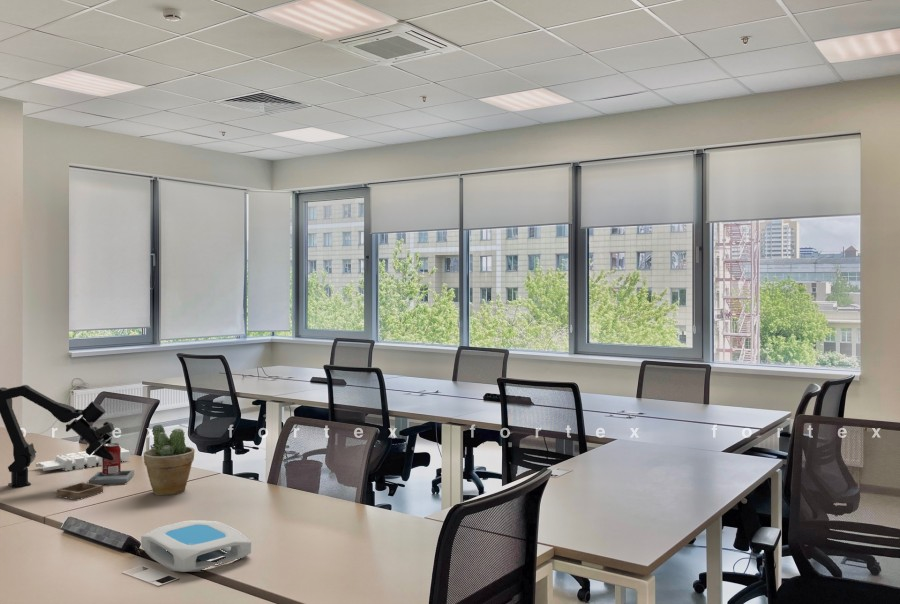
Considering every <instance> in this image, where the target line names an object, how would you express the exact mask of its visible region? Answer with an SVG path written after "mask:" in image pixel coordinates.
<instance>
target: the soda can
mask: <svg viewBox="0 0 900 604" xmlns="http://www.w3.org/2000/svg"><path fill="white" fill-rule="evenodd" d="M105 446H106V449H107V450H108V452H109V453H110V454H111V455H112V457H113V458H114V459H113V460H108V459H105V458H102V466H101V472H102V474H104V475H106V476H112V475H117V474H118V473H120V472H121V471H122V470H121V468H122V467H121V466H122V465H121V464H122V462H121V448H122V447H121V446H120V444H119V443H118V442H117V443H116V442H114V443H113V442H111V443H110V444H105ZM120 447H121V448H120Z"/></svg>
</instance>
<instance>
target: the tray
mask: <svg viewBox="0 0 900 604" xmlns="http://www.w3.org/2000/svg"><path fill="white" fill-rule="evenodd" d="M133 475H134V476H135V470H134V469H133V470H121V472H120V473H118V474H117V475H112V476H106V475H104V474H102V471H97V472H96V473H95V474H94V475H93V476H92V477H90V478H89V480H88V482H87V483H88V484H95V485H102V484H103V485H102V486H105V485H104V484H112V485H126V484H125V483H127V482H128V481H129V482H130V480H131V479H132V478H133V477H134V476H133ZM132 476H133V477H132ZM129 482H128V483H129ZM128 483H127V484H128Z"/></svg>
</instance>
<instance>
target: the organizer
mask: <svg viewBox="0 0 900 604" xmlns="http://www.w3.org/2000/svg"><path fill="white" fill-rule="evenodd" d="M119 447H120V448H121V461H122V462H121V463H124V462H123V461H127V462H129V461H128V460H130V461H131V451H130V450H128V449H125V448H123V447H121V446H119ZM93 453H94V452H93ZM93 453H92V454H93ZM92 454H91V455H88V454H87V453H86V450H84V451H79V452H77V453H76V452H72V453H66V454H65V455H64V454H58V455H55V459H53V460H47V461H40V462H36V463H35V467H36V468H37V467H41V468H42V471H43V472H46V471H52V470H57V469H61V468H62V469H61V470H63V471H65V472H68V471H67V470H70V471H73V469H74V470H80V469H79V468H83V469H85V466H87V467H89V468H91V467H90V466H95V467H97V466H99V465H102V457H99V456H95V455H92ZM97 464H98V465H97ZM84 465H85V466H84ZM72 467H73V468H72ZM87 467H86V468H87Z"/></svg>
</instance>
